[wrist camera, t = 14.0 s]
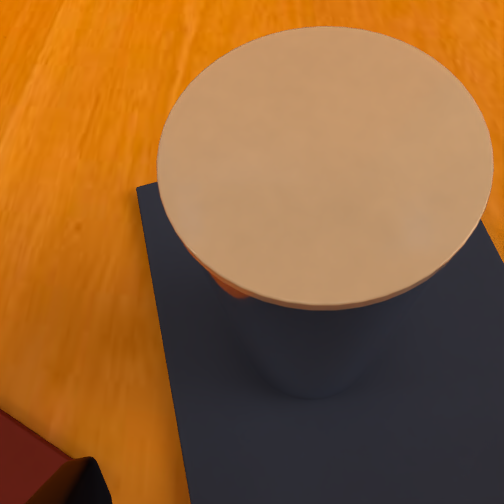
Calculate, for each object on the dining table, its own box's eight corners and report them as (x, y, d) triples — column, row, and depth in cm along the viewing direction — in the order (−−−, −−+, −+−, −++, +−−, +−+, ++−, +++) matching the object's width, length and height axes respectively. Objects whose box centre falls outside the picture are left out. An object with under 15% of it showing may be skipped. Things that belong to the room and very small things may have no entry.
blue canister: (369, 417, 17) (488, 340, 6) (225, 385, 18) (111, 269, 7) (386, 279, 19) (499, 38, 8) (256, 257, 20) (203, 14, 9)
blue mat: (637, 540, 16) (650, 542, 15) (221, 657, 15) (218, 664, 15) (421, 118, 23) (424, 109, 22) (139, 193, 23) (135, 187, 22)
